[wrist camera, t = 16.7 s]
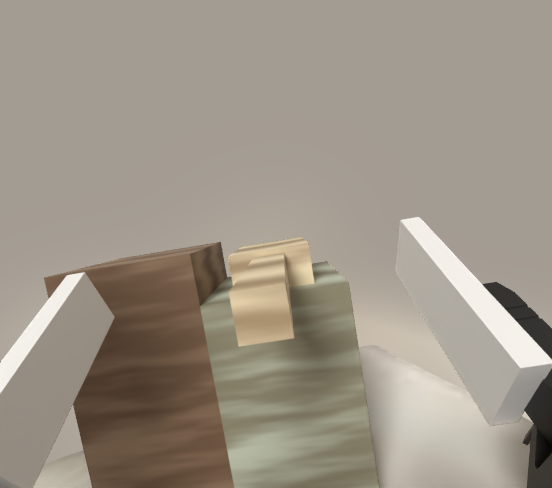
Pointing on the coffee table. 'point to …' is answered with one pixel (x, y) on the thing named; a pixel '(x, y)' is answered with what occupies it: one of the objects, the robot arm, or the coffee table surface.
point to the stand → (220, 383)
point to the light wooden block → (267, 288)
